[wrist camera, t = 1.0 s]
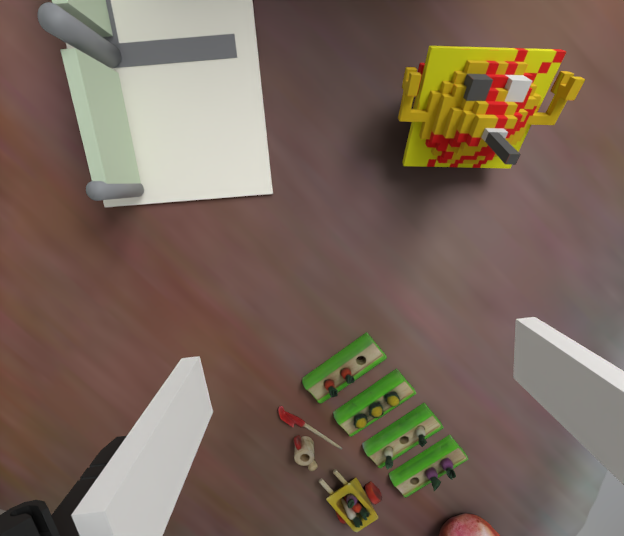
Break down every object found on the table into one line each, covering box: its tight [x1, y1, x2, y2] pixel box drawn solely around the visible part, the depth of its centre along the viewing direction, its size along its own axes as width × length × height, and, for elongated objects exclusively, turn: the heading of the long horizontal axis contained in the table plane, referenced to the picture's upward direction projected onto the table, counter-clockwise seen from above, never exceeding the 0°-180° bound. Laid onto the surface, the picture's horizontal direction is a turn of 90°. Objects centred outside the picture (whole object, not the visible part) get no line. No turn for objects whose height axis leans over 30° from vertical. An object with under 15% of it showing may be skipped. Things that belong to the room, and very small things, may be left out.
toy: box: [398, 46, 585, 168], centre depth 28 cm, size 14×10×15 cm
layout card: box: [66, 0, 273, 207], centre depth 32 cm, size 24×18×1 cm
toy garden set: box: [278, 332, 468, 532], centre depth 42 cm, size 23×19×5 cm
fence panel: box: [60, 48, 144, 201], centre depth 30 cm, size 12×2×7 cm, turn 5°
